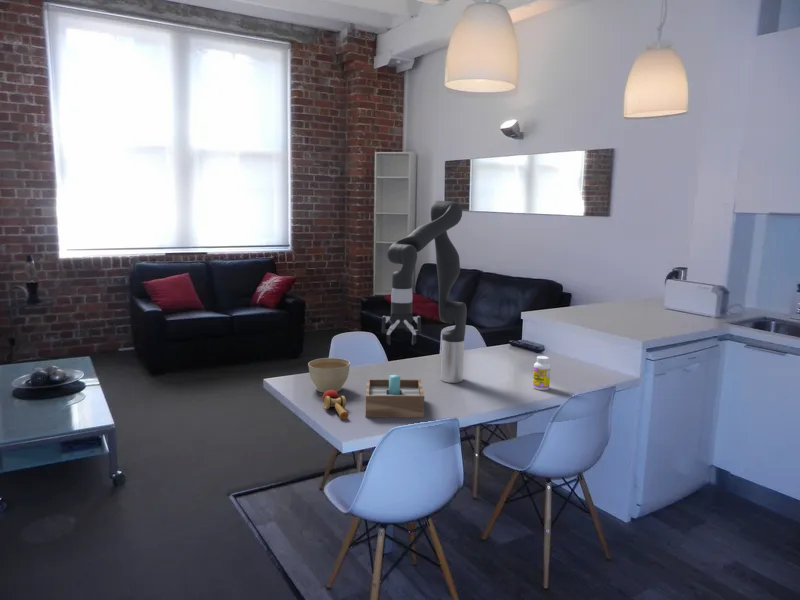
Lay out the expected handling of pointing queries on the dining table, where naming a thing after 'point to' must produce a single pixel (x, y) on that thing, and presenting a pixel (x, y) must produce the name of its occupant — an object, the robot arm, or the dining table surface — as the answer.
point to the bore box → (394, 399)
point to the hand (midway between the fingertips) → (401, 344)
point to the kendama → (335, 403)
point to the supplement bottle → (541, 373)
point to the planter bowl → (329, 373)
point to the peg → (394, 385)
